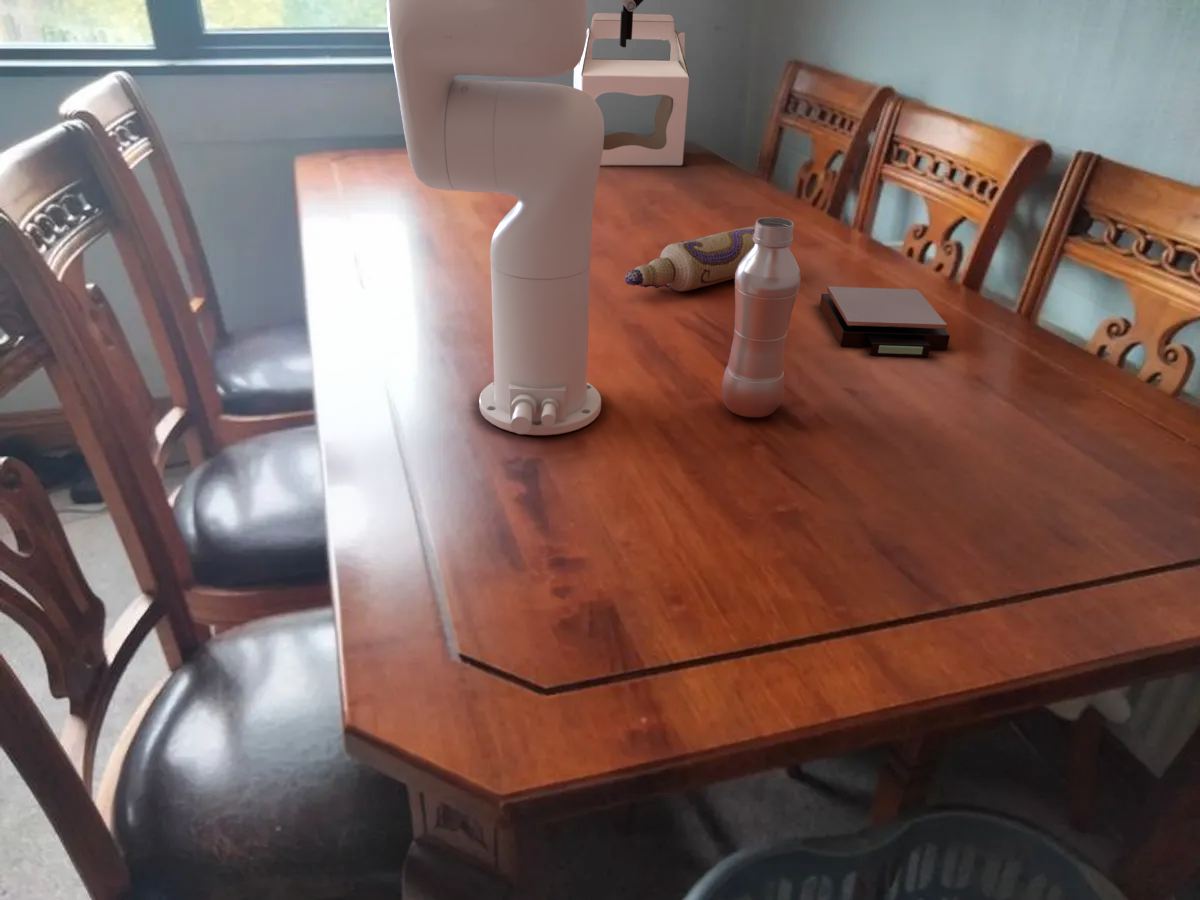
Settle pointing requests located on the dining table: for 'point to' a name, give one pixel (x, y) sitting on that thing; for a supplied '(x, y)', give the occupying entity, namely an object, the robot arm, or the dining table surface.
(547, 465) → the dining table surface
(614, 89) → the gable box
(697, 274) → the decorative bottle
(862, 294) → the scale
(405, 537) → the dining table surface
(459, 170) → the robot arm
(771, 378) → the plastic bottle
